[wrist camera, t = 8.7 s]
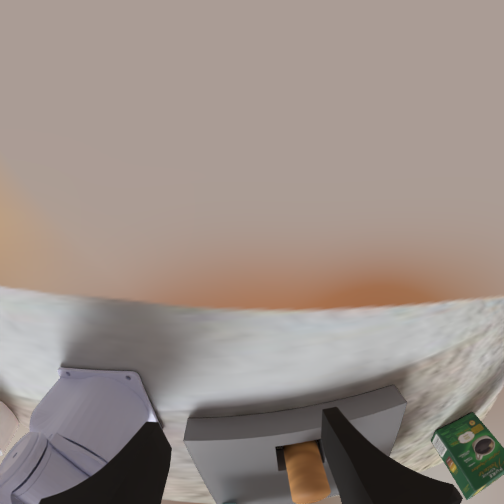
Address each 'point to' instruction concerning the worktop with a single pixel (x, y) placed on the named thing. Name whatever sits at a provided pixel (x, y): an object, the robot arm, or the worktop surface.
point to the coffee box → (470, 454)
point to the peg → (306, 472)
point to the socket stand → (280, 444)
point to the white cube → (6, 426)
